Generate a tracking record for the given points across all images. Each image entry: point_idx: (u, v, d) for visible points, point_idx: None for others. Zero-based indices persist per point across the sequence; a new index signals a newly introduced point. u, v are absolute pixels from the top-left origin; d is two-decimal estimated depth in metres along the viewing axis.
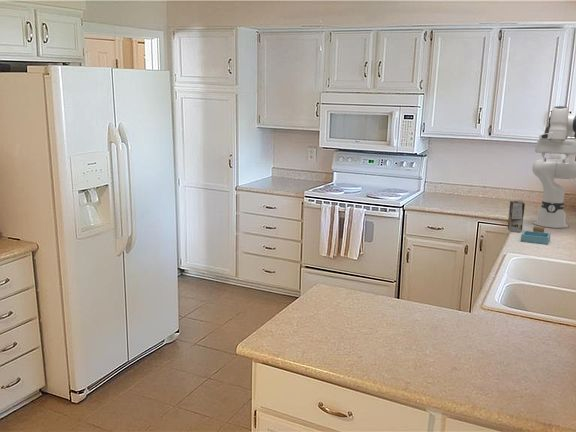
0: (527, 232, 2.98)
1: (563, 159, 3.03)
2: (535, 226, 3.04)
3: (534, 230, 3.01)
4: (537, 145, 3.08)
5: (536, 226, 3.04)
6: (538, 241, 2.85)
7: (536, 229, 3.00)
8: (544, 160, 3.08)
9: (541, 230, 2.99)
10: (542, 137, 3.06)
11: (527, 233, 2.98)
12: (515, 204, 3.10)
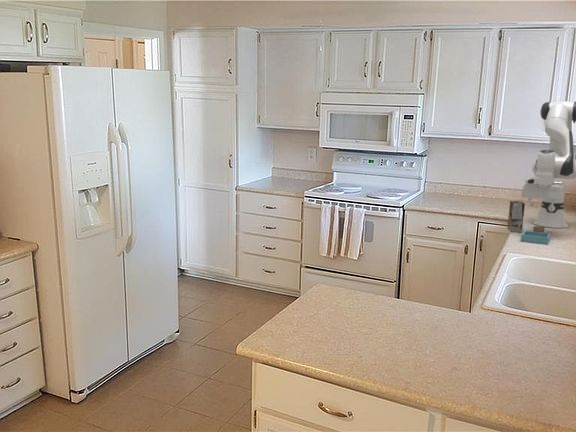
0: (527, 232, 2.98)
1: (550, 204, 2.97)
2: (535, 226, 3.04)
3: (534, 230, 3.01)
4: (523, 190, 3.01)
5: (536, 226, 3.04)
6: (538, 241, 2.85)
7: (536, 229, 3.00)
8: (531, 205, 3.01)
9: (541, 230, 2.99)
10: (528, 182, 2.98)
11: (527, 233, 2.98)
12: (515, 204, 3.10)
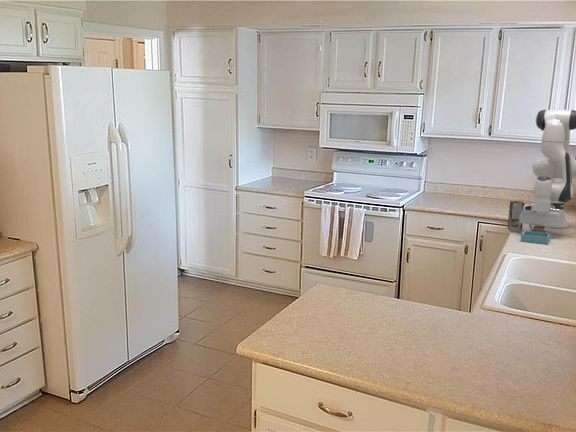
0: (527, 232, 2.98)
1: (544, 230, 3.00)
2: (535, 226, 3.04)
3: (534, 230, 3.01)
4: (521, 216, 3.04)
5: (536, 226, 3.04)
6: (538, 241, 2.85)
7: (536, 229, 3.00)
8: None
9: (541, 230, 2.99)
10: (526, 209, 3.01)
11: (527, 233, 2.98)
12: (515, 204, 3.10)
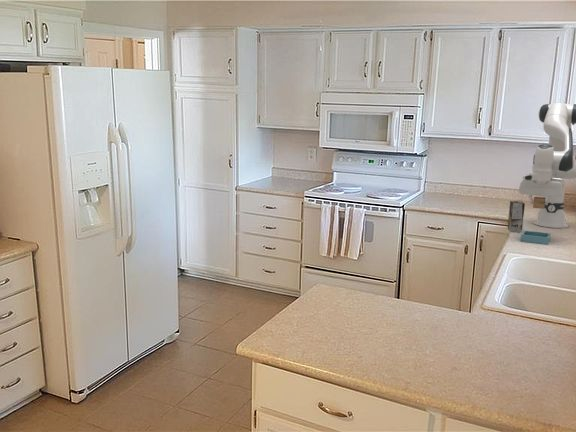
0: (527, 232, 2.98)
1: (545, 201, 2.86)
2: (536, 197, 2.90)
3: (535, 201, 2.87)
4: (521, 186, 2.89)
5: (537, 197, 2.90)
6: (538, 241, 2.85)
7: (537, 199, 2.86)
8: (531, 202, 2.89)
9: (542, 200, 2.85)
10: (526, 178, 2.87)
11: (527, 233, 2.98)
12: (515, 204, 3.10)
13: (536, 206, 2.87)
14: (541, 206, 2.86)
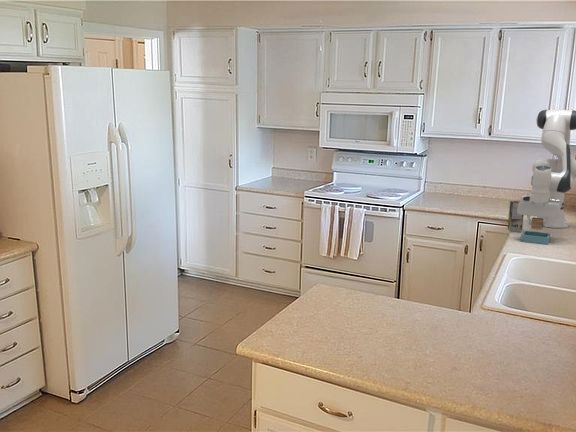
0: (527, 232, 2.98)
1: (543, 222, 2.88)
2: (533, 217, 2.92)
3: (532, 221, 2.88)
4: (519, 207, 2.91)
5: None
6: (538, 241, 2.85)
7: (535, 220, 2.88)
8: (529, 223, 2.91)
9: (540, 221, 2.87)
10: (524, 199, 2.88)
11: (527, 233, 2.98)
12: (515, 204, 3.10)
13: (534, 227, 2.88)
14: (539, 227, 2.87)
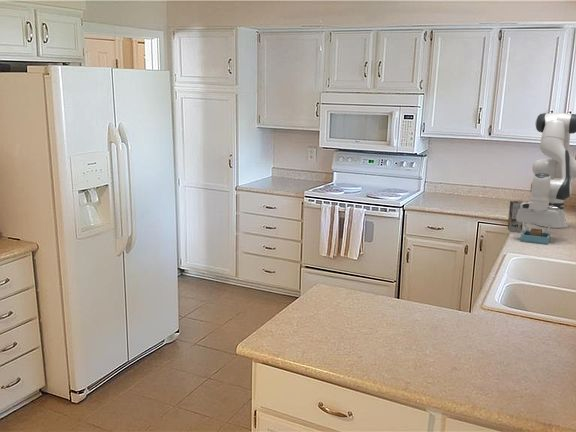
0: (527, 232, 2.98)
1: (545, 230, 2.88)
2: (532, 228, 2.93)
3: (531, 232, 2.90)
4: (518, 214, 2.92)
5: (533, 228, 2.93)
6: (538, 241, 2.85)
7: (533, 231, 2.89)
8: (526, 230, 2.92)
9: (539, 232, 2.88)
10: (523, 207, 2.89)
11: (527, 233, 2.98)
12: (515, 204, 3.10)
13: None
14: None
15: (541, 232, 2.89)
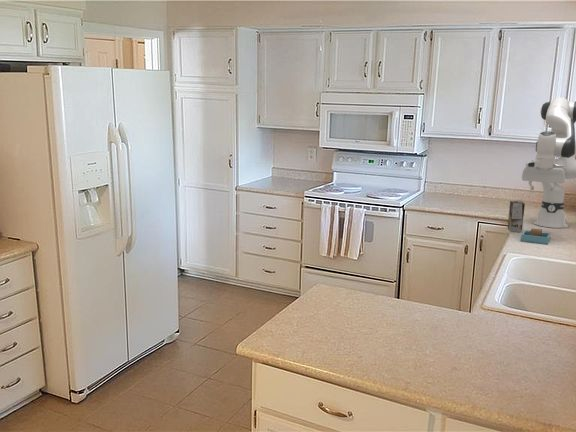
0: (527, 232, 2.98)
1: (551, 188, 2.89)
2: (532, 228, 2.93)
3: (531, 232, 2.90)
4: (524, 173, 2.93)
5: (533, 228, 2.93)
6: (538, 241, 2.85)
7: (533, 231, 2.89)
8: (531, 188, 2.94)
9: (539, 232, 2.88)
10: (529, 165, 2.91)
11: (527, 233, 2.98)
12: (515, 204, 3.10)
13: None
14: None
15: (541, 232, 2.89)
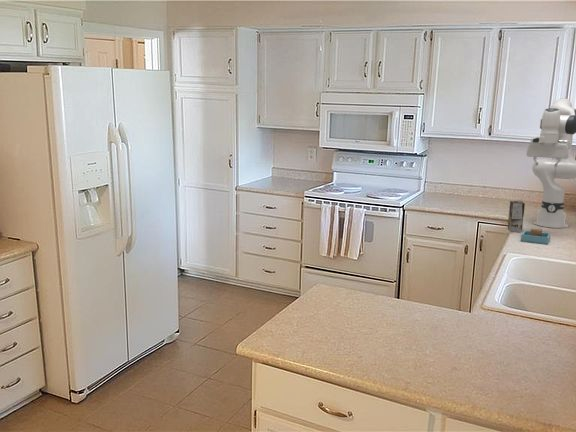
0: (527, 232, 2.98)
1: (555, 163, 2.96)
2: (532, 228, 2.93)
3: (531, 232, 2.90)
4: (528, 149, 3.01)
5: (533, 228, 2.93)
6: (538, 241, 2.85)
7: (533, 231, 2.89)
8: (536, 164, 3.01)
9: (539, 232, 2.88)
10: (533, 141, 2.98)
11: (527, 233, 2.98)
12: (515, 204, 3.10)
13: None
14: None
15: (541, 232, 2.89)
